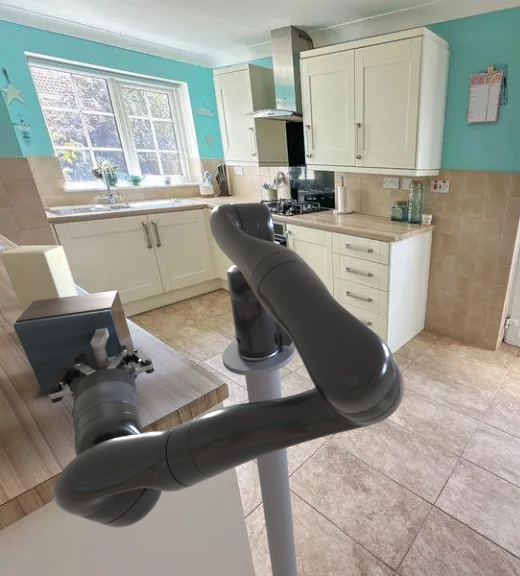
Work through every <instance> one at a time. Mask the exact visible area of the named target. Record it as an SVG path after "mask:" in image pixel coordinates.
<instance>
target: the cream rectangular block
mask: <svg viewBox="0 0 520 576" xmlns="http://www.w3.org/2000/svg"><path fill="white" fill-rule="evenodd" d="M0 259H1V261H2V263H3V266H4V269H5V271H6V274H7V276H8V279H9V281H10V284H11V286H12V288H13V291H14V293H15V297H16V298H17V302H18V304H19V306H20V309H21V311H22V313H23V312H24V311H25V310H26V309H27V308H28V307H29V306H30V304H31V303H32V302H33V301H37V300H45V299H53V298H61V297H69V296H77V295H79V294H78V291H77V290H78V289H77V287H76V283H75V281H74V278H73V274H72V272H71V268H70V265H69V262H68V259H67V256H66V252H65V250H64V247H63V245H55V244H54V245H51V244H50V245H49V244H48V245H44V244H43V245H19V246H16V247H14V248H10V249H7V250H5V251H2V252H0Z"/></svg>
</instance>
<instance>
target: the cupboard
mask: <svg viewBox="0 0 520 576" xmlns="http://www.w3.org/2000/svg"><path fill="white" fill-rule="evenodd" d="M106 309H111V311H112V314H113V317H114V321H115V324H116V327H117V330H118V334H119V337H120V340H121V344H122V345H125V346H126V347H127V351H128V352H132V351H133V350H135V349H136V348H135V345H134V342H133V339H132V335H131V332H130V327H129V324H128V322H127V317H126V314H125V311H124V308H123V304H122V300H121V298H120V293H119V291H118V290H110V291H102V292H93V293H86V294H78V295H77V296H69V297H61V298H53V299H45V300H37V301H33V302H32V303H31V304H30V306H29V307H28V308H27V309H26V310H25V311H24V312H23V311H22V313H21V314H20V315H19V317H18V318H17V319H16V320H15V323H16V322H23V321H30V320H37V319H43V318H50V317H57V316H64V315H71V314H78V313H85V312H92V311H99V310H106ZM132 365H133V362H131V363H130V365H129V366H130V367H133V366H132Z"/></svg>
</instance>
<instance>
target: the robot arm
mask: <svg viewBox="0 0 520 576" xmlns="http://www.w3.org/2000/svg"><path fill="white" fill-rule="evenodd" d="M209 226H210V227H209V228H210V232H211V236H212V237H213V239H214V241H215V242H216V245H217V246H218V248H219V249H220V251H221V252H222V253H223V254H224V255H225V256H226V257H227V258H228V259H229V260H230V262H232V264H233V265H232V266H230V267H229V269H228V270H227V274H226V275H227V283H228V291H229V297H230V304H231V311H232V320H233V326H234V334H233V336H234V339H235V340H236V342H237V351H238V356H239V357H240V358H241V359H243V360H246V361H252V362H256V361H263V360H267V359H270V358H272V357H274V356H275V355H277V354H278V353H280V352H283V346H285V345H286V346H288V347H289V346H290V345H291V343H292V342H293V343H294V345H295V347H296V352H297V353H298V355H299V357H300V360H301V361H302V363H303V365H304V368H305V370H306V371H307V374H308V375H309V379H310V380H311V382H312V385H313V386H314V387H313V388H310V389H308V390H305V391H302V392H299V393H296V394H292V395H288V396H284V397H283V396H282V398H277V399H272V400H265V401H257V402H249V401H248V402H243V403H238V404H232V405H228V406H224V407H221V408H217V409H214V410H211V411H208V412H206V413H204V414H201V415H199V416H197V417H194V418H192V419H190V420H187V421H184V422H182V423H180V424H178V425H175V426H173V427H171V428H168V429H159V430H151V431H146V432H144V431H143V425H142V420H141V416H140V409H141V408H140V400H139V393H138V391H137V386H136V379H137V377H138V375H140V374H142V373H146V374H147V375H149V374H153V373H154V372H155V368H154V365H153V361H152V358H150V357H149V356H148V355H147V354H146V353H144V352H143V351H142V350H141V349H140V348H134V349H135V350H133V351H132V352H128V351H127V347H126V346H125V345H122V346H121V344H117V345H116V347H117V353H118V356H117V357H115V358H114V359H113V361H112V362H111V364H109V365H106V366H104V367H99V368H95V369H92V368H91V367H89V366H88V361H87V358H86V355H85V353H81V354H79V357H76V358H75V364H74V367H73V368H71V369H69V368H64V369H61V370H60V371H59V372H58V373H57V375H56V376H55V378H54V379H53V381H52V382H51V384H50V385H49V386H48V388H47V392H48V393H47V394H48V397H49V399H50V401H51V403H53V404H55V403H56V404H57V403H59V402H61V401H62V400H63V398H64V397H68V396H72V397H73V404H72V405H73V407H72V410H71V417H72V423H73V427H74V453H75V455H76V456H75V458H73V459H72V460H70V462H69V463H68V464H67V465H66V466H65V467H64V468H63V470H62V471H61V473H60V474H59V476H58V477H57V479H56V481H55V484H54V488H53V499H54V502H55V504H56V505H57V507H58V508H60V509H61V510H62V511H64V512H66V513H68V514H70V515H74V516H77V517H79V518H83V519H86V520H89V521H91V522H94V523H98V524H100V525H103V526H105V527H109V528H117V529H119V528H126V527H130V526H133V525H135V524H136V523H138V522H140V521H142V520H143V519H144V518H146V517H147V516H148V515H150V513H151V512H152V510H153V509H154V508H155V507H156V505H157V504H158V502H159V500H160V498H161V496H162V493H163V492H166V493H167V492H168V493H173V492H179V491H181V490H186V489H188V488H190V487H192V486H194V485H197V484H200V483H202V482H204V481H206V480H209V479H211V478H213V477H216V476H218V475H220V474H223V473H225V472H227V471H231V470H232V469H234V468H237V467H239V466H242V465H244V464H246V463H249V462H251V461H255V460H257V458H259V457H262V456H265V455H268V454H270V453H273V452H276V451H279V450H282V449H285V448H286V449H287V448H290V447H291V448H292V447H294V446H297V445H301V444H304V443H307V442H310V441H313V440H317V439H321V438H325V437H327V436H332V435H336V434H341V433H345V432H349V431H354V430H358V429H361V428H366V427H370V426H373V425H377V424H379V423H381V422H384V421H386V420H387V419H389V418H390V417H391V416H393V414H394V413H395V412H396V411H397V410H398V408H399V407H400V405H401V403H402V401H403V398H404V394H405V380H404V377H403V373H402V371H401V369H400V366H399V364H398V362H397V361H396V359H395V357H394V355H393V352H392V350H391V349H390V347H389V345H388V344H387V343H386V342H385V340H384V339H383V338H381V336H380V335H378V334H377V333H376V332H375V331H374V330H372V328H370V327H368V325H366V324H365V323H363V321H361V320H360V319H359V318H357V317H356V316H355V315H353V314H352V313H351V312H350V311H349V310H348V309H346V308H345V307H344V306H343V305H342V304H341V303H339V302H338V301H337V299H336V298H335V297H334V296H333V295H332V294H331V292H330V291H329V289H328V288H327V286H326V284H325V282H324V281H323V280H322V279H321V278H320V277H319V275H318V274H317V273H316V272H315V270H314V269H313V268H312V267H311V266H310V265H309V264H308V263H307V261H305V260H304V258H303V257H302V256H300V254H298V253H297V252H295V251H294V250H292V249H291V248H289V247H287V246H284V245H282V244H279V243H276V242H275V239H276V238H275V225H274V219H273V215H272V212H271V210H270V208H269V207H268V205H267V204H265V203H263V202H239V203H237V202H236V203H223V204H220V205H216V207H214V208H213V209H212V211H211V212H210V215H209ZM235 340H234V341H235ZM131 362H132V363H134V364H135V365H136V367H133V366H131V367H130V366H129V365H130V363H131ZM77 377H78V378H79V379H78V380H77V381H76V382H74V383H73V384H72V382H73V379H74V378H77ZM71 384H72V385H71ZM70 385H71V386H70Z"/></svg>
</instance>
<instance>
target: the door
mask: <svg viewBox="0 0 520 576" xmlns="http://www.w3.org/2000/svg"><path fill="white" fill-rule="evenodd" d="M12 326H13V329H14V331H15V334H16V335H17V337H18V340H19V342H20V344H21V346H22V348H23V351H24V354H25V355H26V358H27V360H28V362H29V365H30V367H31V369H32V371H33V374H34V376H35V378H36V380H37V382H38V385H39V388H40V389H41V392H42V394H43V395H45V394H48V392H47V388H48V386H49V385H50V384H51V382H52V381H53V379H54V378H55V376H56V375H57V373H58V372H59V371H60V370H61V369H64V368H69V369H71V368H73V367H74V364H75V358H76V357H79V354H81V353H85V355H86V358H87V361H88V366H89V367H91V368H92V369H95V368H99V367H104V366H106V365H109V364H111V362H112V361H113V359H114V358H115V357H117V356H118V353H117V347H116V345H117V344H121V340H120V337H119V334H118V330H117V327H116V324H115V321H114V317H113V314H112V311H111V309H106V310H99V311H92V312H85V313H78V314H71V315H64V316H57V317H50V318H43V319H37V320H30V321H23V322H16V321H15V322H14V324H12ZM121 346H122V344H121ZM78 379H79V378H78V377H77V378H74V379H73V382H72V384H73V383H74V382H76V381H77V380H78ZM72 384H71V385H72ZM71 385H70V386H71Z"/></svg>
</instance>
